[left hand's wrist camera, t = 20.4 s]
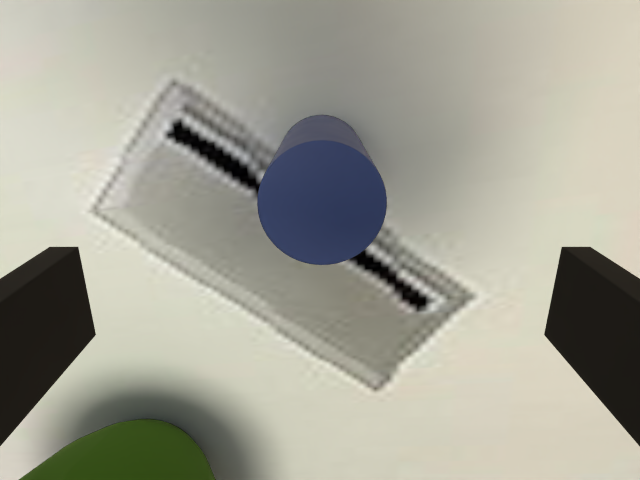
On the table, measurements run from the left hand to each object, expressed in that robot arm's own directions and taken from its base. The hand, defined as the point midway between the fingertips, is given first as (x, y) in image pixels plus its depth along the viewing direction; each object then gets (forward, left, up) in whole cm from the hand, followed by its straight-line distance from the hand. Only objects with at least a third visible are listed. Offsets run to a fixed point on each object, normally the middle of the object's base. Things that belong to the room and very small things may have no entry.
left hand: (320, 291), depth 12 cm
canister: (0, 0, -21) cm, 21 cm away
